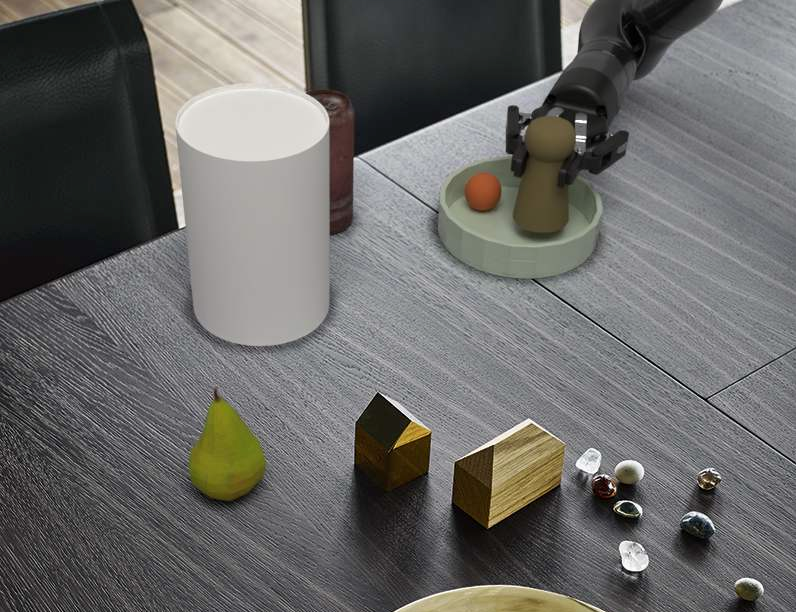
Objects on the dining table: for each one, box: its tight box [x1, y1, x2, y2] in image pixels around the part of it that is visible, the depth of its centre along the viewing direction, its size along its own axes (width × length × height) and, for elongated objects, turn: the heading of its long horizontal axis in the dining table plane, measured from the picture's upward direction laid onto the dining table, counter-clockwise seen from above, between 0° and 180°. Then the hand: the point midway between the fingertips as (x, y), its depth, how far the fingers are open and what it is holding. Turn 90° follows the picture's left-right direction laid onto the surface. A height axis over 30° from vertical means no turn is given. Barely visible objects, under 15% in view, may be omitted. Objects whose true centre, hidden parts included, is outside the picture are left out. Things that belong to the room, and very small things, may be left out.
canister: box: [174, 82, 331, 347], centre depth 118 cm, size 14×14×20 cm
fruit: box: [188, 386, 267, 502], centre depth 103 cm, size 6×6×12 cm
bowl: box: [437, 155, 604, 280], centre depth 134 cm, size 17×17×4 cm
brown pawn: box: [513, 116, 576, 233], centre depth 130 cm, size 6×6×11 cm
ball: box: [465, 173, 502, 210], centre depth 136 cm, size 4×4×4 cm
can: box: [305, 88, 355, 236], centre depth 131 cm, size 6×6×14 cm
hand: (539, 174), depth 127 cm, fingers closed on brown pawn, 4 cm apart
